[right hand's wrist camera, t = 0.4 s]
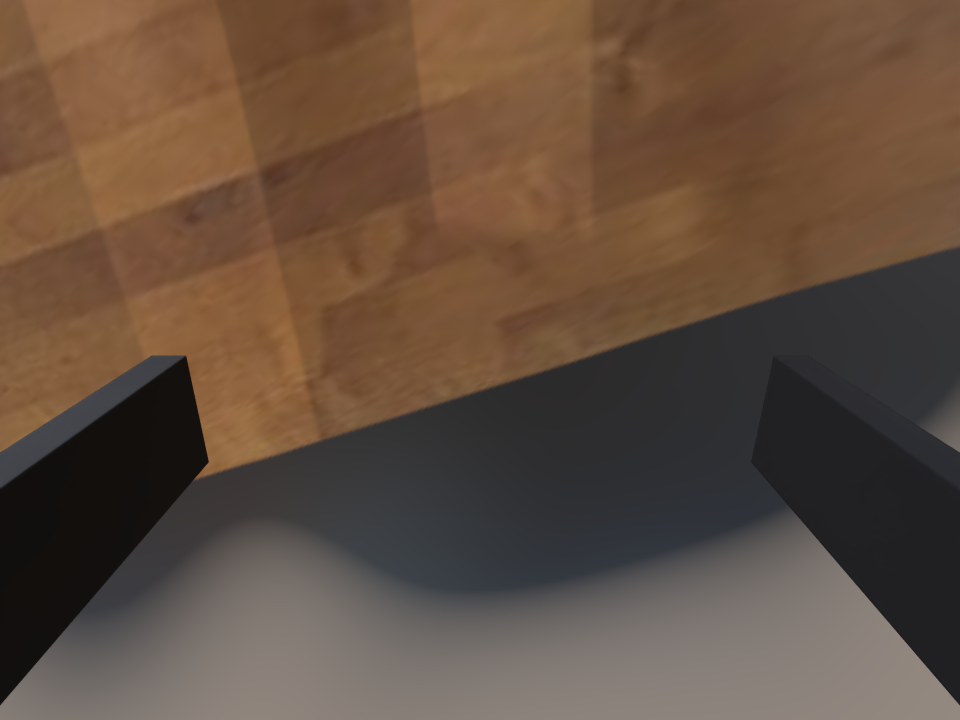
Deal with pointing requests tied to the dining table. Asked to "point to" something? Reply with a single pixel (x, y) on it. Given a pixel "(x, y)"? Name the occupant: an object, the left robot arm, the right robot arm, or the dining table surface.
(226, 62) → the dining table surface
